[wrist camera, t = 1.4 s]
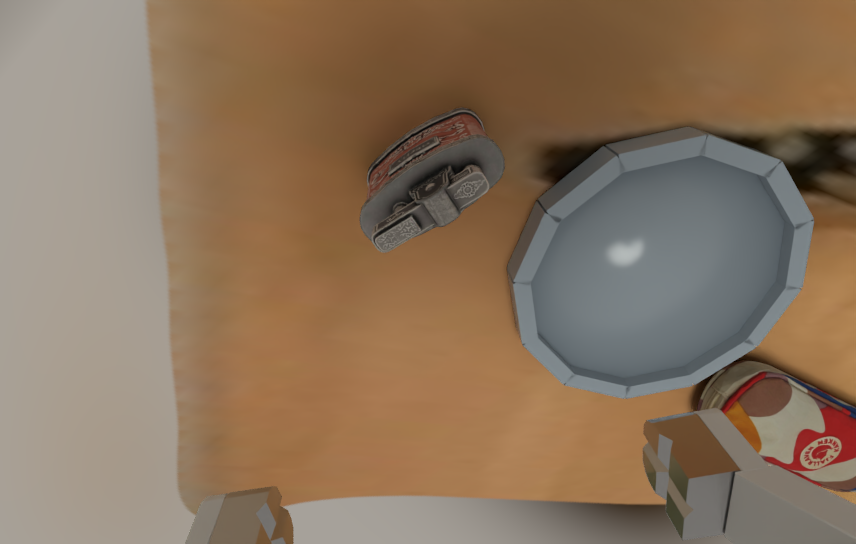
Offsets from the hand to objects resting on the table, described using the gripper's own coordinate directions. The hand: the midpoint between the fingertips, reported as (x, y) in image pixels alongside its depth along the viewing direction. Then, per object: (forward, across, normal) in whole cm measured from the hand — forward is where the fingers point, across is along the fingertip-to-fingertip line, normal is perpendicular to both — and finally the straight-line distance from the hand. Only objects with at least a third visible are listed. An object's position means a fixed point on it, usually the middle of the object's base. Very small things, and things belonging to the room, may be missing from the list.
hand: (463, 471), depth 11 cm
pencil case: (+24, -29, +27) cm, 46 cm away
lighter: (+24, -1, -1) cm, 24 cm away
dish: (+24, -15, +10) cm, 30 cm away
